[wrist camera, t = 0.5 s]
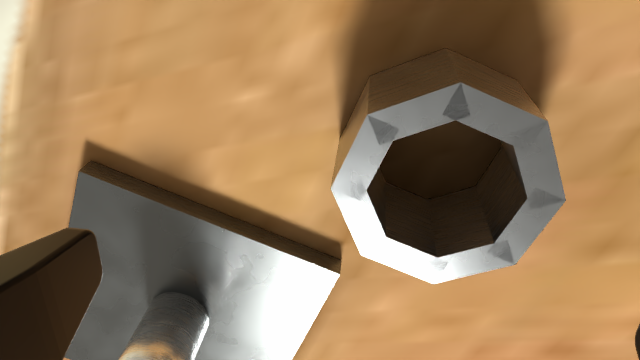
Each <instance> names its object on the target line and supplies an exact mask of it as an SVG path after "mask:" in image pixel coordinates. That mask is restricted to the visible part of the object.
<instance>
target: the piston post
mask: <svg viewBox="0 0 640 360" xmlns="http://www.w3.org/2000/svg"><path fill="white" fill-rule="evenodd" d="M69 228H79V229H88V230H91V231H92V232H93V233H94V234H95V236H96V239H97V244H98V248H99V253H100V258H101V262H102V267H103V275H102V280H101V283H100V285H99V287H98V289H97V291H96V293H95V295H94V297H93V299H92V301H91V303H90V305H89V308H88V310H87V312H86V314H85V316H84V318H83V320H82V322H81V324H80V326H79V328H78V330H77V332H76V334H75V336H74V338H73V341H72V343H71V345H70V347H69V349H68V351H67V352H66V354H65V356H64V357H65V358H68V359H71V360H292V358H293V357H294V355H295V353H296V351H297V350H298V348H299V346H300V344H301V342H302V341H303V339H304V337H305V335H306V334H307V332H308V330H309V328H310V327H311V325H312V323H313V321H314V319H315V318H316V316H317V314H318V312H319V311H320V309H321V307H322V305H323V303H324V302H325V300H326V298H327V296H328V295H329V293H330V291H331V289H332V288H333V286H334V284H335V282H336V280H337V279H338V277H339V275H340V269H341V260H339V259H336V258H334V257H331V256H329V255H326V254H324V253H321V252H319V251H316V250H314V249H311V248H309V247H306V246H304V245H301V244H299V243H296V242H294V241H291V240H289V239H286V238H284V237H281V236H278V235H276V234H273V233H271V232H268V231H266V230H263V229H261V228H258V227H256V226H253V225H251V224H248V223H246V222H243V221H241V220H238V219H236V218H233V217H231V216H228V215H226V214H223V213H221V212H218V211H216V210H213V209H211V208H208V207H206V206H203V205H201V204H198V203H196V202H193V201H191V200H188V199H186V198H183V197H181V196H178V195H176V194H173V193H171V192H168V191H166V190H163V189H161V188H158V187H156V186H153V185H151V184H148V183H146V182H143V181H141V180H138V179H136V178H133V177H131V176H128V175H126V174H123V173H120V172H118V171H115V170H113V169H110V168H108V167H105V166H103V165H100V164H98V163H95V162H93V161H90V162H89V163H88V164H87V165H86V166H84V167H83V168H82V169H81V170H80V171H79V174H78V179H77V185H76V190H75V196H74V201H73V206H72V212H71V217H70V222H69Z"/></svg>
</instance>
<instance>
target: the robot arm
mask: <svg viewBox="0 0 640 360" xmlns="http://www.w3.org/2000/svg"><path fill="white" fill-rule="evenodd" d="M102 275H103V267H102V262H101V258H100V253H99V248H98V244H97V239H96V236H95V234H94V233H93V232H92V231H91V230H88V229H79V228H66V229H63V230H61V231H58V232H56V233H53V234H51V235H48V236H46V237H44V238H41V239H39V240H36V241H34V242H32V243H29V244H27V245H24V246H22V247H19V248H17V249H15V250H12V251H10V252H7V253H5V254H3V255H0V360H63V358H64V356H65V354H66V352H67V351H68V349H69V347H70V345H71V343H72V341H73V338H74V336H75V334H76V332H77V330H78V328H79V326H80V324H81V322H82V320H83V318H84V316H85V314H86V312H87V310H88V308H89V305H90V303H91V301H92V299H93V297H94V295H95V293H96V291H97V289H98V287H99V285H100V283H101V280H102ZM635 346H636V351H637V354H638V358H639V360H640V324H639V326H638V329H637V331H636V335H635Z"/></svg>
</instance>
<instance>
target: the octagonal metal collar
mask: <svg viewBox="0 0 640 360" xmlns="http://www.w3.org/2000/svg"><path fill="white" fill-rule="evenodd" d="M455 120H456V121H458V122H460V123H463V124H465V125H467V126H470V127H472V128H474V129H476V130H479V131H481V132H483V133H486V134H488V135H490V136H492V137H495V138H497V139H499V140H500V141H501V145H502V147H501V149H500V150H499V152H498V153H497V155H496V156H495V158H494V159H493V161H492V162H491V164H490V165H489V167H488V168H487V170H486V171H485V173H484V174H483V176H482V177H481V179H480V180H479V182H478V183H477V185H476V186H475V187H471V188H468V189H464V190H461V191H457V192H454V193H450V194H447V195H443V196H440V197H436V198H433V199H429V200H427V199H425V198H423V197H420V196H418V195H416V194H413V193H411V192H408V191H406V190H404V189H401V188H399V187H396V186H394V185H392V184H389V183H387V182H385V180H384V177H383V175H382V172H381V170H380V167H379V166H380V164H381V162H382V160H383V158H384V157H385V155H386V153H387V151H388V149H389V147H390V145H391V144H392V142H393V141H394V140H397V139H400V138H403V137H406V136H409V135H412V134H416V133H419V132H422V131H425V130H428V129H431V128H434V127H437V126H440V125H443V124H446V123H449V122H452V121H455ZM331 190H332V193H333V195H334V197H335V199H336V201H337V204H338V206H339V208H340V210H341V212H342V214H343V217H344V219H345V221H346V223H347V225H348V228H349V230H350V232H351V234H352V236H353V239H354V241H355V243H356V245H357V247H358V250H359V252H360V254H361V255H362V256H365V257H367V258H370V259H372V260H375V261H377V262H380V263H382V264H385V265H387V266H390V267H392V268H395V269H397V270H400V271H402V272H405V273H407V274H410V275H412V276H414V277H417V278H419V279H422V280H424V281H427V282H429V283H432V284H437V283H441V282H445V281H449V280H453V279H457V278H462V277H466V276H470V275H474V274H478V273H482V272H487V271H491V270H495V269H499V268H503V267H507V266H512V265H515V264H516V263H517V262H518V260H519V259H520V258H521V257H522V255H523V254H524V253H525V251H526V250H527V249H528V248H529V246H530V245H531V244H532V243H533V241H534V240H535V239H536V238H537V236H538V235H539V234H540V233H541V231H542V230H543V229H544V227H545V226H546V225H547V224H548V222H549V221H550V220H551V219H552V217H553V216H554V215H555V214H556V212H557V211H558V210H559V208H560V207H561V206H562V205H563V203H564V202H565V201H566V199H565V194H564V190H563V186H562V181H561V177H560V172H559V168H558V164H557V159H556V155H555V151H554V146H553V142H552V137H551V133H550V129H549V124H548V121H547V119H546V118H545V117H544V116H543V114H542V113H541V112H540V110H539V109H538V108H537V106H536V105H535V104H534V102H533V101H532V100H531V98H530V97H529V96H528V94H527V93H526V92H525V90H524V89H523V88H522V86H521V85H520V84H519V82H518V81H517V80H515V79H513V78H511V77H509V76H507V75H504V74H502V73H500V72H498V71H496V70H493V69H491V68H489V67H487V66H485V65H482V64H480V63H478V62H476V61H473V60H471V59H469V58H467V57H465V56H462V55H460V54H458V53H456V52H454V51H451V50H449V49H447V48H444V49H442V50H439V51H436V52H433V53H431V54H428V55H425V56H423V57H420V58H417V59H414V60H412V61H409V62H406V63H404V64H401V65H398V66H395V67H393V68H390V69H387V70H384V71H382V72H379V73H376V74H374V75H371V76H370V77H369V79H368V81H367V83H366V85H365V87H364V89H363V91H362V93H361V96H360V98H359V100H358V102H357V104H356V106H355V108H354V110H353V112H352V114H351V117H350V119H349V121H348V123H347V125H346V127H345V129H344V131H343V133H342V135H341V138H340V140H339V145H338V150H337V156H336V162H335V167H334V173H333V178H332V184H331Z"/></svg>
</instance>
